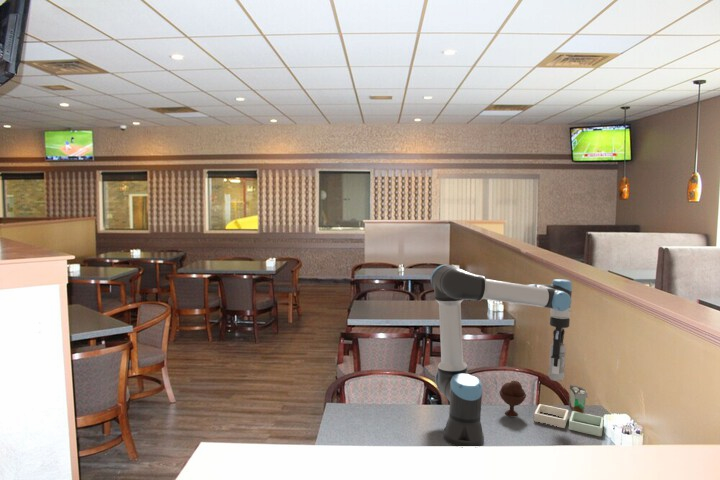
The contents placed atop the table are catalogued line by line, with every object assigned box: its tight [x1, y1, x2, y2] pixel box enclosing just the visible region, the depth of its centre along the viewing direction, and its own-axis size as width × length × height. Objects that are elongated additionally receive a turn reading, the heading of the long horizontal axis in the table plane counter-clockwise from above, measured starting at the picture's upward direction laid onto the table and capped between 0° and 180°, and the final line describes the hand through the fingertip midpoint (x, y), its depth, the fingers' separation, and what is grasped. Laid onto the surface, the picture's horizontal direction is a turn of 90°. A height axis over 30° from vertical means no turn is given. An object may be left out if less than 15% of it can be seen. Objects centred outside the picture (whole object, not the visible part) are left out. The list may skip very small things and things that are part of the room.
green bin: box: [568, 411, 605, 437], centre depth 209 cm, size 12×12×4 cm
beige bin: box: [533, 403, 570, 429], centre depth 215 cm, size 12×12×4 cm
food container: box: [568, 384, 589, 413], centre depth 224 cm, size 12×6×10 cm, turn 168°
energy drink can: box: [547, 342, 567, 382], centre depth 213 cm, size 6×6×15 cm
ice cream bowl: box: [499, 380, 527, 417], centre depth 219 cm, size 11×11×15 cm
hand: (556, 371), depth 213 cm, fingers closed on energy drink can, 6 cm apart
